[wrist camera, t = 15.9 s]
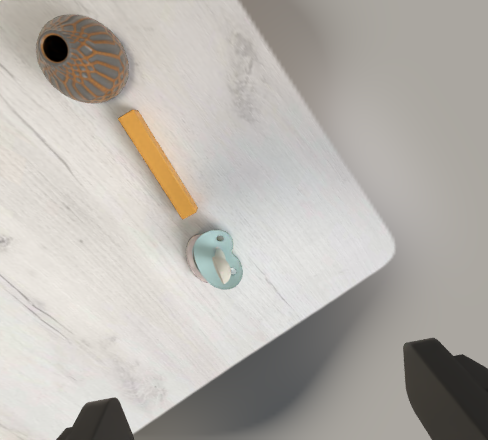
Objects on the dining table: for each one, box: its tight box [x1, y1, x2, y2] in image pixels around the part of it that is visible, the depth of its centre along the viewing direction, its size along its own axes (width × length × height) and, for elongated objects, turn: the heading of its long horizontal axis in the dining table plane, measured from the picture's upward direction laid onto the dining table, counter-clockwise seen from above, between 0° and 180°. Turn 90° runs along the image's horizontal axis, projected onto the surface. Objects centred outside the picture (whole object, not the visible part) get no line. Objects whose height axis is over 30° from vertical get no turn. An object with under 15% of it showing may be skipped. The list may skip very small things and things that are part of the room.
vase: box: [36, 15, 129, 103], centre depth 27 cm, size 7×7×9 cm
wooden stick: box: [118, 110, 198, 219], centre depth 34 cm, size 12×2×2 cm, turn 29°
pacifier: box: [186, 230, 243, 289], centre depth 35 cm, size 7×6×6 cm
